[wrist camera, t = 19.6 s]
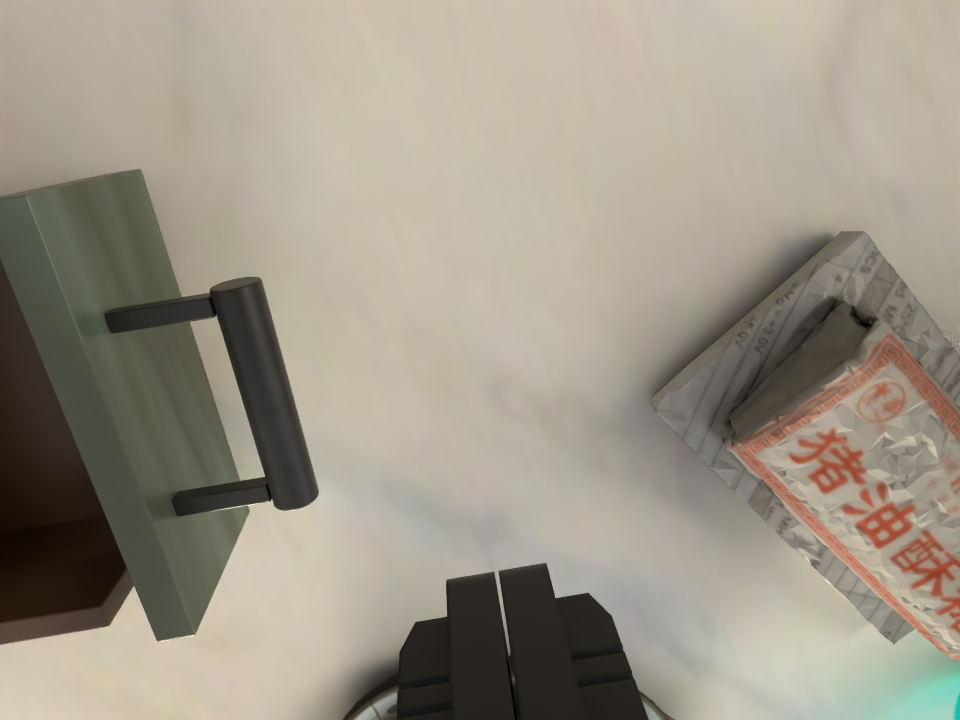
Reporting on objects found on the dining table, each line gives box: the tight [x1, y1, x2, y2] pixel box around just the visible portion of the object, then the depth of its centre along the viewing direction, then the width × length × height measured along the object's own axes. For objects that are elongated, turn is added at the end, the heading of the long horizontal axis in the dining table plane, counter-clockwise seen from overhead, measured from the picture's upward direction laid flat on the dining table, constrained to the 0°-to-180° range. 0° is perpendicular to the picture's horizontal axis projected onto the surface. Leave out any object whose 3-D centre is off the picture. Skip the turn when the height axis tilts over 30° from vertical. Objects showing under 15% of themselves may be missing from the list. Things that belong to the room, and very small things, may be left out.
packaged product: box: [650, 231, 960, 660], centre depth 27 cm, size 18×5×10 cm
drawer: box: [0, 169, 319, 645], centre depth 21 cm, size 18×13×7 cm
